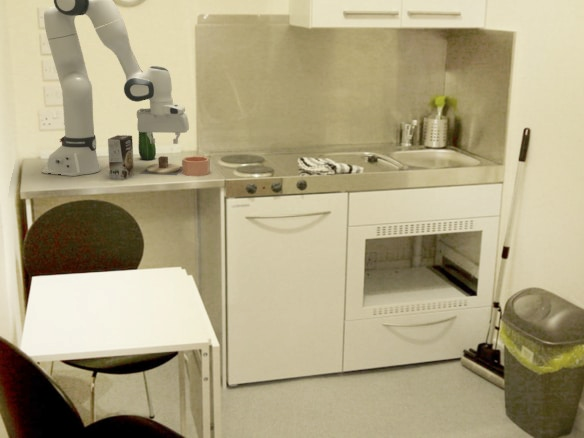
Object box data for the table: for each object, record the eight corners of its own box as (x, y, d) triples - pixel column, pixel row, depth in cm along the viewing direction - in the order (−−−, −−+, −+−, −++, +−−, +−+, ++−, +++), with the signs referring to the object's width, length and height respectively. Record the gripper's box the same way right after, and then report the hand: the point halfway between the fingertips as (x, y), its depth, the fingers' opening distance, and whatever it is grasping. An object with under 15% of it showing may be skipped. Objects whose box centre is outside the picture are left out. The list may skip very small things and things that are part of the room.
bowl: (180, 176, 292) (179, 161, 290) (187, 170, 302) (187, 156, 300) (205, 177, 291) (205, 162, 289) (211, 171, 300) (211, 157, 298)
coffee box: (125, 181, 283) (123, 139, 279) (109, 180, 285) (106, 138, 280) (135, 176, 292) (132, 135, 287) (119, 175, 293) (117, 134, 288)
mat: (139, 174, 294) (139, 173, 294) (151, 166, 308) (151, 165, 308) (176, 176, 292) (176, 175, 292) (187, 168, 306) (186, 166, 306)
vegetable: (159, 160, 320) (157, 113, 314) (145, 162, 315) (143, 115, 309) (149, 157, 325) (147, 111, 319) (135, 160, 320) (133, 113, 314)
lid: (142, 173, 294) (142, 160, 293) (153, 165, 307) (152, 153, 305) (174, 174, 293) (174, 161, 291) (183, 167, 305) (183, 154, 304)
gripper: (133, 109, 291) (136, 144, 295) (184, 109, 288) (186, 145, 292) (138, 107, 297) (141, 141, 301) (188, 107, 294) (191, 142, 298)
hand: (164, 143), depth 297 cm, fingers open, 8 cm apart
